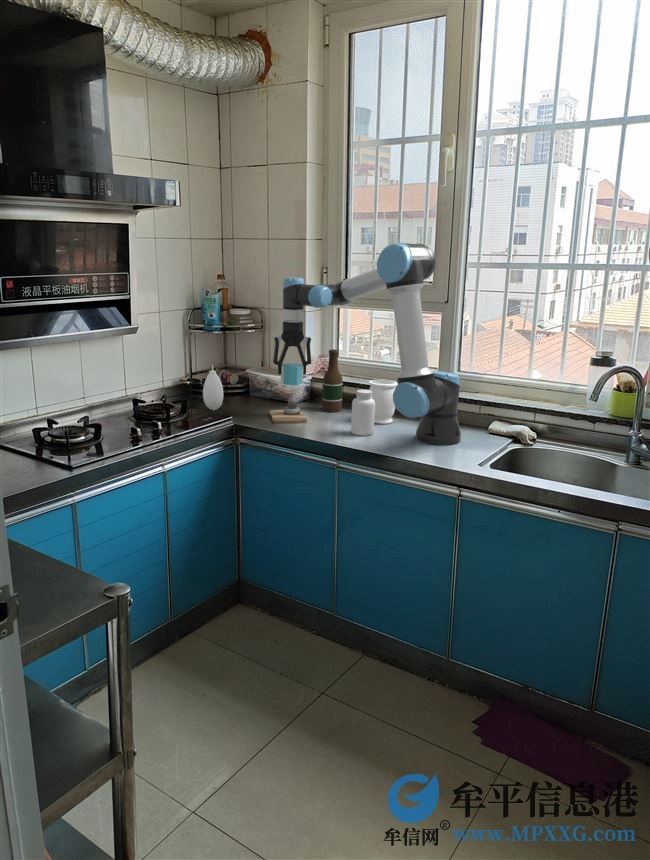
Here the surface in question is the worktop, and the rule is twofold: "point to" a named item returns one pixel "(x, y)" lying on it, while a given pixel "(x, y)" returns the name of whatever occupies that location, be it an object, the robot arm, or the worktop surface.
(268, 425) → the worktop surface
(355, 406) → the pill bottle
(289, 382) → the turquoise hexagonal prism
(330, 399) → the beer bottle
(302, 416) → the stud block
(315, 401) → the worktop surface
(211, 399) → the white air blower bulb
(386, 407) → the jar
